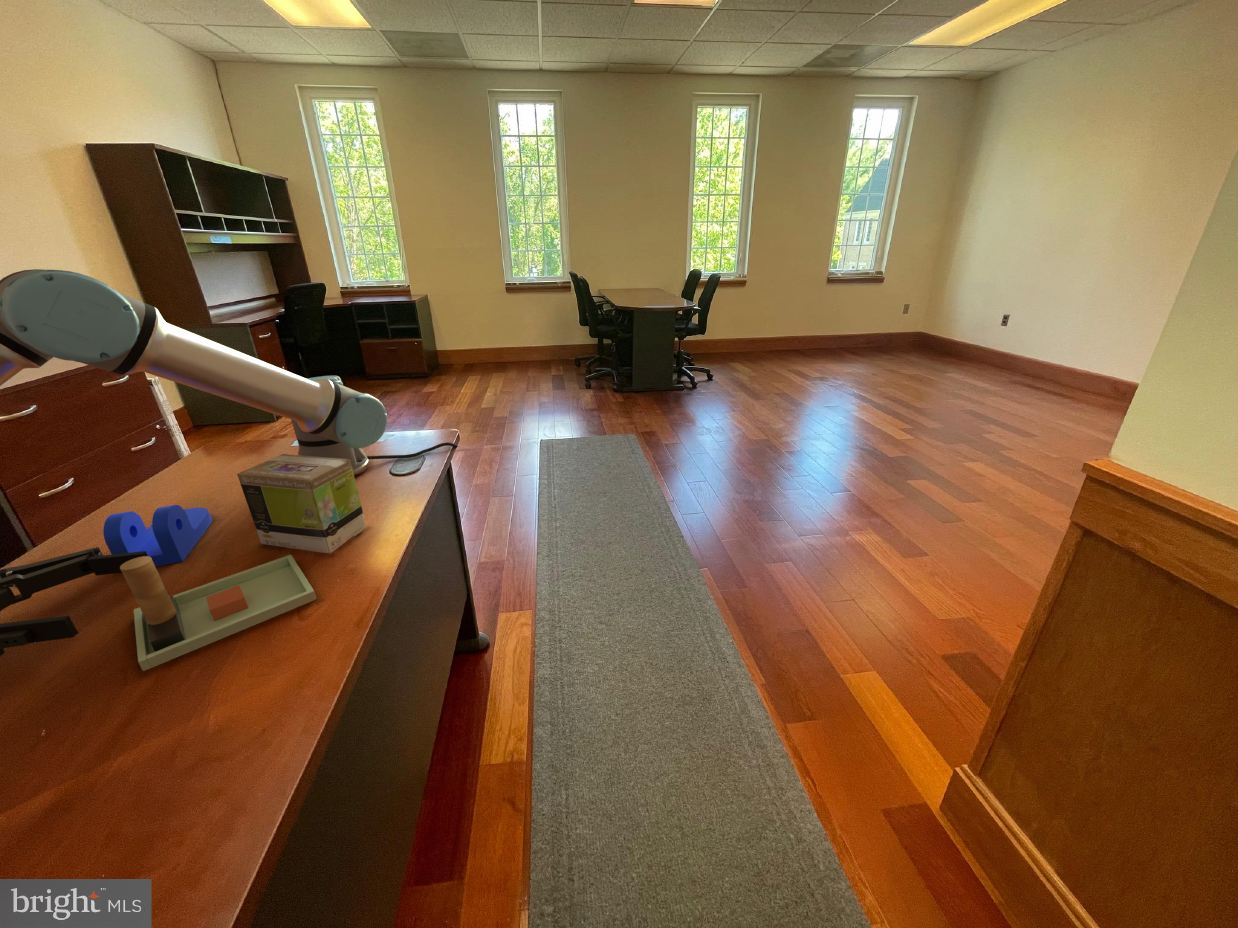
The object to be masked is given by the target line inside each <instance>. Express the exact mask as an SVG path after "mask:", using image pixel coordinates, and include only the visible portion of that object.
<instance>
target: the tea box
mask: <svg viewBox="0 0 1238 928" xmlns="http://www.w3.org/2000/svg"><path fill="white" fill-rule="evenodd" d="M236 476H237V478H238V481H239V484H240V487H241V490H242V493H243V496H244V498H245V502H246V505H247V507H248V510H249V513H250V516H251V518H252V521H253V524H254V527H255V529H256V533H257V536H258V539H259V542H260V544H261V545H268V546H275V547H281V548H288V549H296V550H302V551H308V552H314V553H315V552H316V553H323V554H332V553H333V552H335V551H336V550H337V549H338V548H339V547H341V546H342V545H343V544H345V543H346V542H347V541H348V540H351V539H352V538H353V537H356V536H358V535H359V534H360V533H362V532H363V531H364V530H365V529H366V528H367V524H366V520H365V519H366V518H365V516H364V511H363V506H362V503H361V499H360V494H359V491H358V486H357V483H356V478H355V477H354V473H353V469H352V466H351V462H350V460H349V459H338V458H326V457H314V456H302V455H298V454H289V453H282V454H280V455H277V456H275V457H273V458H270V459H268V460H266V461H264V462H262V463H259V464H256V465H254V466H252V467H250V468H247V469H244V470H243V471H240V472H238V473H236Z"/></svg>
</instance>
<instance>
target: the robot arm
mask: <svg viewBox="0 0 1238 928" xmlns="http://www.w3.org/2000/svg"><path fill="white" fill-rule="evenodd" d="M54 358H55V359H59V360H62V361H68V362H69V361H70V362H75V363H80V364H85V365H87V366H91V367H94V368H98V369H100V370H104V371H106V372H110V373H114V374H117V375H120V376H123V377H124V376H128V375H132V374H136V373H140V372H143V373H146V374H149V375H152V376H156V377H159V378H162V379H165V380H168V381H171V382H174V383H177V384H180V385H183V386H187V387H189V388H193V389H196V390H199V391H202V392H205V393H208V394H211V395H214V396H217V397H220V398H223V399H226V400H229V401H233V402H235V403H236V402H237V403H239V404H242V405H245V406H248V407H252V408H255V409H258V410H261V411H264V412H267V413H269V414H272V415H277V416H279V417H282V418H286V419H289V420H291V424H292V428H293V430H294V435H295V437H296V440H297V444H298V452H297V455H302V456H314V457H326V458H338V459H349V460H350V462H351V466H352V469H353V473H354V478H355V477H358V476H359V475H361V474H362V473H364V472H366V471H367V470H368V469H369V467H370V462H369V460H391V459H392V460H393V459H411V458H416V457H419V456H420V455H423V454H426V453H429V452H432V451H435V450H437V449H439V448H442V447H452V448H459V446H458V445H457V444H456V443H453V442H441V443H439V444H436V445H433V446H432V447H428V448H425V449H423V450H422V449H421V450H420V451H417V452H415V453H414V452H413V453H409V454H388V455H387V454H384V455H383V454H382V455H367V454H366V453H365V451H364V449H365V448H368V447H370V446H371V445H372V446H373V444H375V443H377V442H379V440H381V438H382V437H383V435H384V433H385V432H386V429H387V426H388V413H387V410H386V407H385V405H384V404H383V403H382V401H380V400H379V399H378V398H376V397H374V396H373V395H372V394H369V393H365V392H364V393H363V392H359V391H357V390H354V389H352V388H350V387H347V386H345V385H344V383H343V381H342V379H341V377H340V376H338V375H322V376H315V377H309V378H306V377H303V376H301V375H298V374H296V373H293V372H291V371H288V370H286V369H283V368H281V367H279V366H275V365H274V364H271V363H268V362H266V361H264V360H261V359H258V358H256V357H254V356H252V355H251V356H250V355H249V354H246V353H243V352H241V351H239V350H236V349H234V348H231V347H229V346H226V345H223V344H222V343H218V342H217V341H213V340H211V339H209V338H206V337H204V336H202V335H199V334H196V333H194V332H191V331H189V330H186V329H184V328H181V327H179V326H176V325H174V324H172V323H169V322H166V320H165V319H164V318H163V316H162V314H161V313H160V311H159V309H158V308H157V307H155V306H153V305H151V304H148V303H145V302H144V301H141V300H138V299H136V298H134V297H131V296H129V295H127V294H124V293H122V292H120V291H117V290H116V289H115V288H113V287H111V286H109V285H108V284H107V283H105V282H104V281H101V280H99V279H97V278H94V277H92V276H89V275H86V274H83V273H80V272H75V271H70V270H63V269H39V268H38V269H36V268H34V269H24V270H23V269H22V270H19V271H16V272H12V273H9V274H7V275H6V276H4V277H2V278H1V279H0V387H1V386H3V385H4V384H5V383H6V382H8V381H9V380H11V379H12V378H13V377H15V376H16V375H18V374H19V373H20V372H22V371H23V370H25V369H40V368H41V367H42V366H44V365H45V364H47V362H49V361H50V360H52V359H54ZM143 556H148V555H147V553H146V551H142V552H132V553H122V554H113V555H112V554H104V553H103V552H102V550H101V549H100V547H98V546H95V547H91V548H88V549H83V550H80V551H76V552H72V553H68V554H63V555H59V556H55V557H52V558H48V559H47V558H46V559H43V560H40V561H36V562H32V563H27V564H23V565H19V566H18V565H16V566H10V567H9V566H8V567H4V568H1V569H0V613H1V612H2V611H3V610H5V609H6V608H9V607H10V606H12V605H15V604H18V603H21V602H23V601H27V600H29V599H31V598H32V596H33V595H34V594H37V593H39V592H41V591H45V590H48V589H50V588H54V587H57V586H59V585H62V584H65V583H68V582H71V581H74V580H77V579H79V578H84V577H85V576H88V575H91V574H94V575H95V576H96V577H97V576H104V575H115V574H123V573H122V571H121V569H120V566H121V565H122V564H123V563H125V562H127V561H129V560H131V559H134V558H138V557H143ZM12 588H14V589H17V591H18V592H19V594H17V595H15V594H14V592H13V590H12ZM79 633H80V632H79V631H78V629H77V627H76V625H75V624H74V622H73V620H72V619H71V617H70V615H68V614H67V615H61V616H51V617H44V618H36V619H28V620H27V619H26V620H20V621H10V622H3V623H0V657H1V656H3V655H4V654H5V653H6V651H5V649H6V648H15V647H23V646H25V645H29V644H34V643H42V642H48V641H49V642H50V641H57V640H58V641H59V640H65V639H72V638H75V637H76V636H77V635H78V634H79Z"/></svg>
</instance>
